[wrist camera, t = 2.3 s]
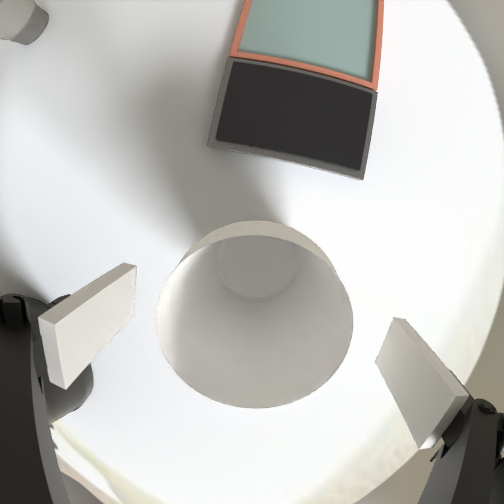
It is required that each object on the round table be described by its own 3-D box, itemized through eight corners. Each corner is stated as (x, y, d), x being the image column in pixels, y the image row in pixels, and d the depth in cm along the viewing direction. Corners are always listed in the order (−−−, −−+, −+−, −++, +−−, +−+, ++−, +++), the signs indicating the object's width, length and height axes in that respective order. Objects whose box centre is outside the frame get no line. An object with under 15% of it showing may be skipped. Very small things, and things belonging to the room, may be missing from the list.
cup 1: (47, -2, 17) (-8, -37, 6) (63, 15, 18) (0, -25, 7) (10, 40, 19) (-51, 18, 7) (22, 62, 20) (-48, 39, 8)
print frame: (230, 60, 20) (229, 55, 19) (258, -33, 17) (258, -39, 16) (373, 93, 20) (377, 90, 19) (380, -4, 17) (384, -9, 16)
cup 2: (236, 184, 23) (209, 187, 11) (334, 242, 23) (395, 298, 12) (185, 280, 24) (127, 357, 13) (276, 329, 25) (284, 431, 14)
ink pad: (210, 147, 22) (205, 144, 20) (229, 62, 20) (227, 54, 18) (358, 180, 22) (365, 180, 20) (372, 95, 20) (380, 90, 18)
